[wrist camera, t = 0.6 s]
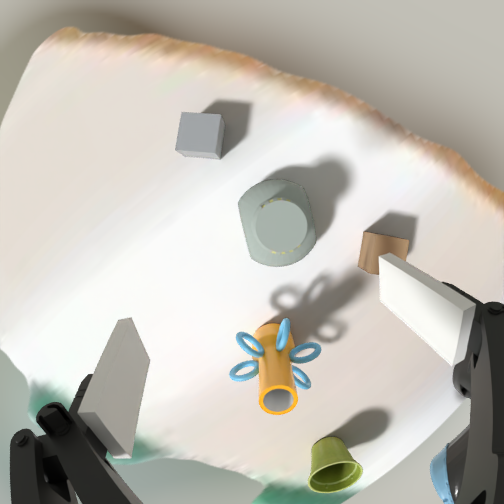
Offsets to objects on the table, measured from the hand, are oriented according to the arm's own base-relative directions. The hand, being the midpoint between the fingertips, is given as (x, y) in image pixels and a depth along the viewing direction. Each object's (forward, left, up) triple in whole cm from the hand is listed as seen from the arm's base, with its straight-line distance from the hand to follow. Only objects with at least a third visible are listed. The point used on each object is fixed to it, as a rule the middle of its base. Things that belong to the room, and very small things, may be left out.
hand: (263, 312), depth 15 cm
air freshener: (-2, -3, -27) cm, 27 cm away
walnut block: (-17, -1, -26) cm, 31 cm away
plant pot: (-18, +36, -27) cm, 48 cm away
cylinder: (-4, +14, -27) cm, 30 cm away
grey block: (+9, -13, -27) cm, 31 cm away
